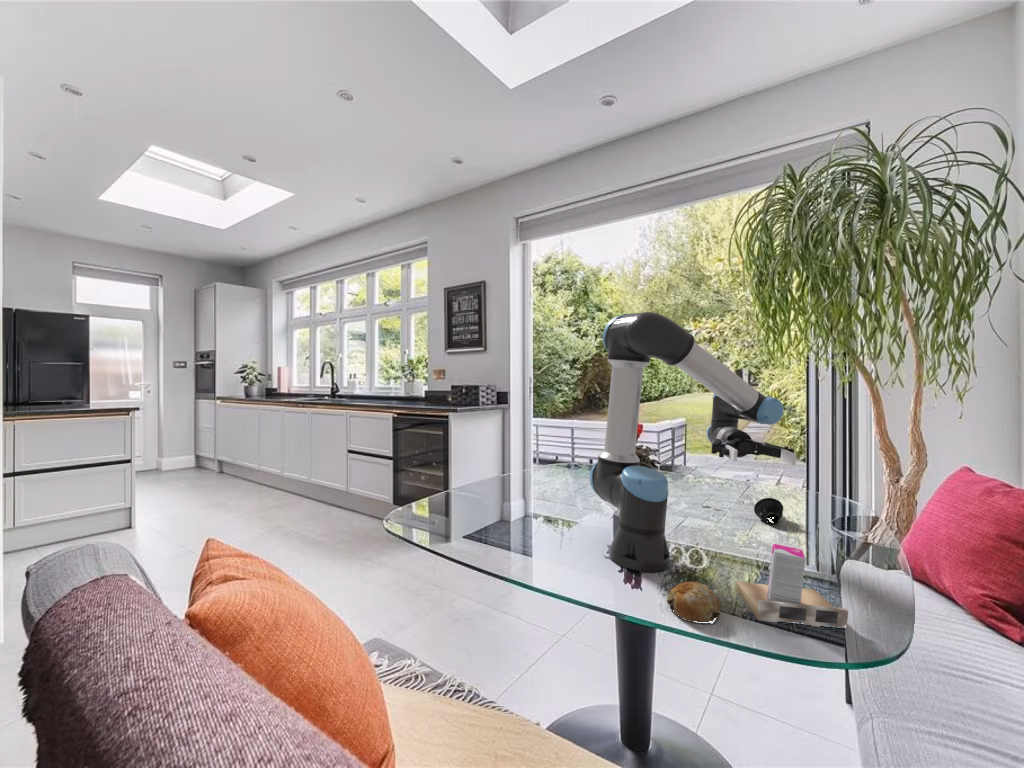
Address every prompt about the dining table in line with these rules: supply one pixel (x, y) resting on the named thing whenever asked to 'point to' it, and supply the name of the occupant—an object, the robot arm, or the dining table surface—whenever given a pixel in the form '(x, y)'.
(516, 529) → the dining table surface
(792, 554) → the supplement box
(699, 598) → the bread roll
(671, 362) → the robot arm
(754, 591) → the tan slab
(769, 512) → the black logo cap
